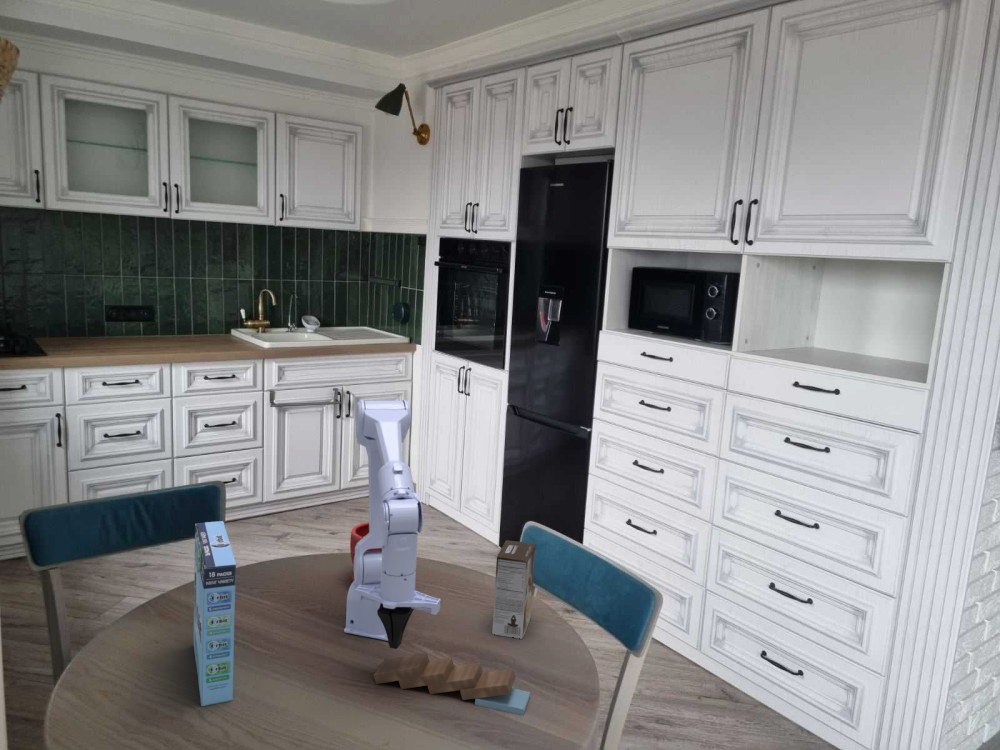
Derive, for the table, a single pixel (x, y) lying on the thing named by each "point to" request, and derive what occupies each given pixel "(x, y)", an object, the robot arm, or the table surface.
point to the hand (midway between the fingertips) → (395, 645)
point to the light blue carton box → (214, 612)
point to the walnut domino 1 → (401, 668)
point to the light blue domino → (506, 701)
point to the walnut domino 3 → (459, 679)
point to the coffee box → (513, 589)
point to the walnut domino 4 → (491, 685)
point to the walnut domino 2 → (430, 674)
